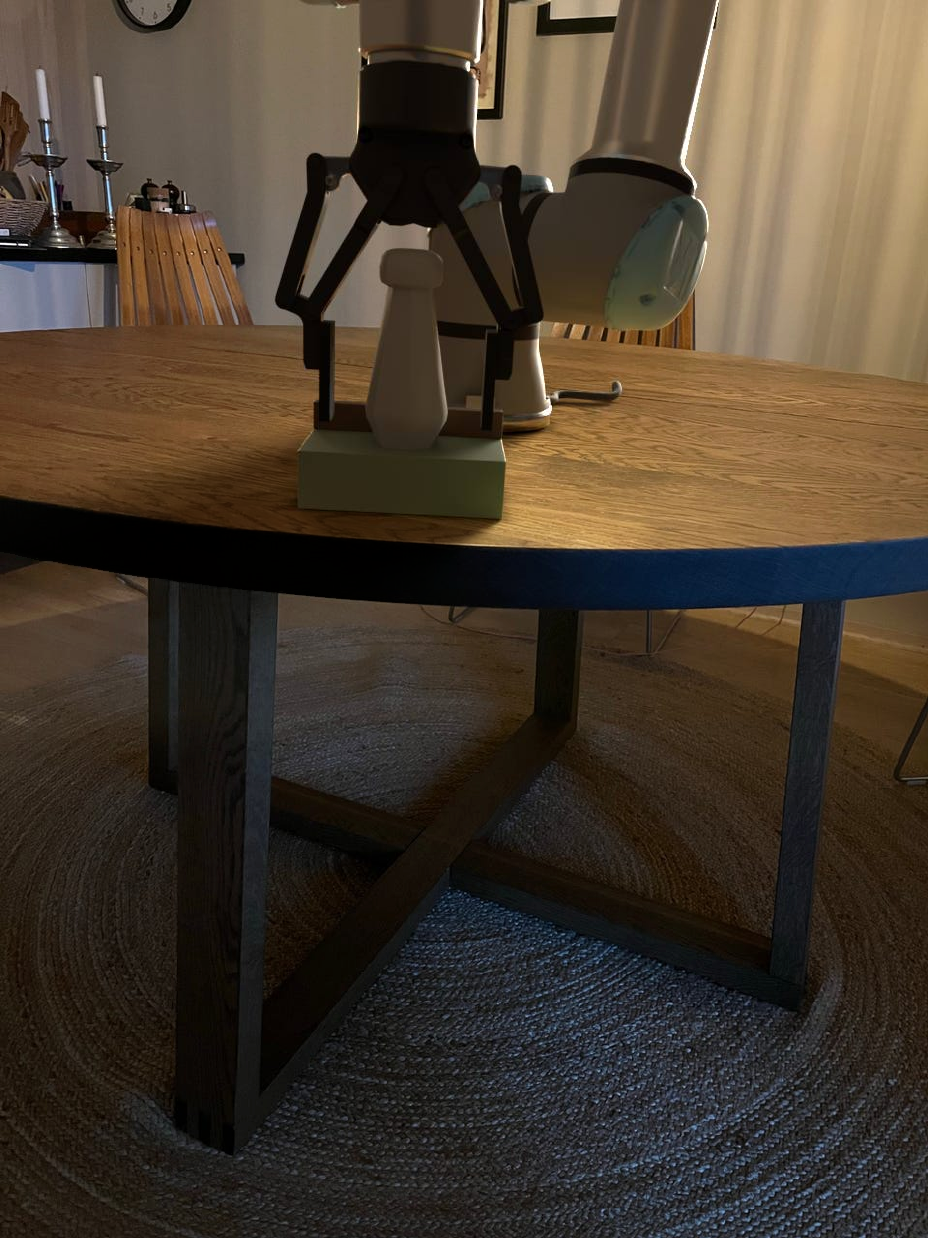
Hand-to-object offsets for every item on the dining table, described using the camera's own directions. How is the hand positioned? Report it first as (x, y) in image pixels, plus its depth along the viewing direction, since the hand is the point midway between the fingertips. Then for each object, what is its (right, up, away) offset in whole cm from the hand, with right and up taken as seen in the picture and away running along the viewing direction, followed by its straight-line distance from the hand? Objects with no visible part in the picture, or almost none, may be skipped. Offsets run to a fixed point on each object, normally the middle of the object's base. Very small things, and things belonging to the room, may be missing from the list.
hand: (406, 422), depth 70 cm
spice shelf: (0, -5, +2) cm, 6 cm away
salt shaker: (0, -2, +1) cm, 2 cm away
